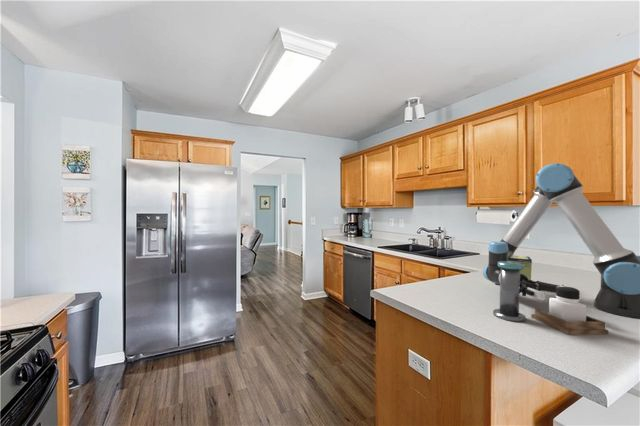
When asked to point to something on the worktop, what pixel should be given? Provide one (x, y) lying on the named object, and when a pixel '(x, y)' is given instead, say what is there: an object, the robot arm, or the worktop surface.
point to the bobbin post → (509, 292)
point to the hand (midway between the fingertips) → (561, 296)
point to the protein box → (523, 260)
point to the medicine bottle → (567, 305)
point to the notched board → (571, 324)
